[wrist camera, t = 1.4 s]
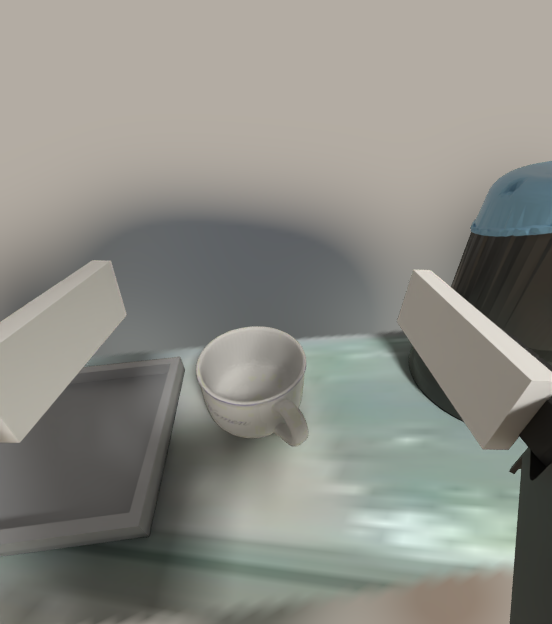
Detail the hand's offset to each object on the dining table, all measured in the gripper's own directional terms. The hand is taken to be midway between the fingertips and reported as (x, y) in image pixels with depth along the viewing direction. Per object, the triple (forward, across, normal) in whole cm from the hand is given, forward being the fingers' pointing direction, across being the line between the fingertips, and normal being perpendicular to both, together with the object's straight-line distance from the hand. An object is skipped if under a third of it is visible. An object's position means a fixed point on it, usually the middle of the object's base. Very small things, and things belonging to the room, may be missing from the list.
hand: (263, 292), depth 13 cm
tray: (+7, -22, -23) cm, 32 cm away
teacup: (+9, 0, -21) cm, 23 cm away
